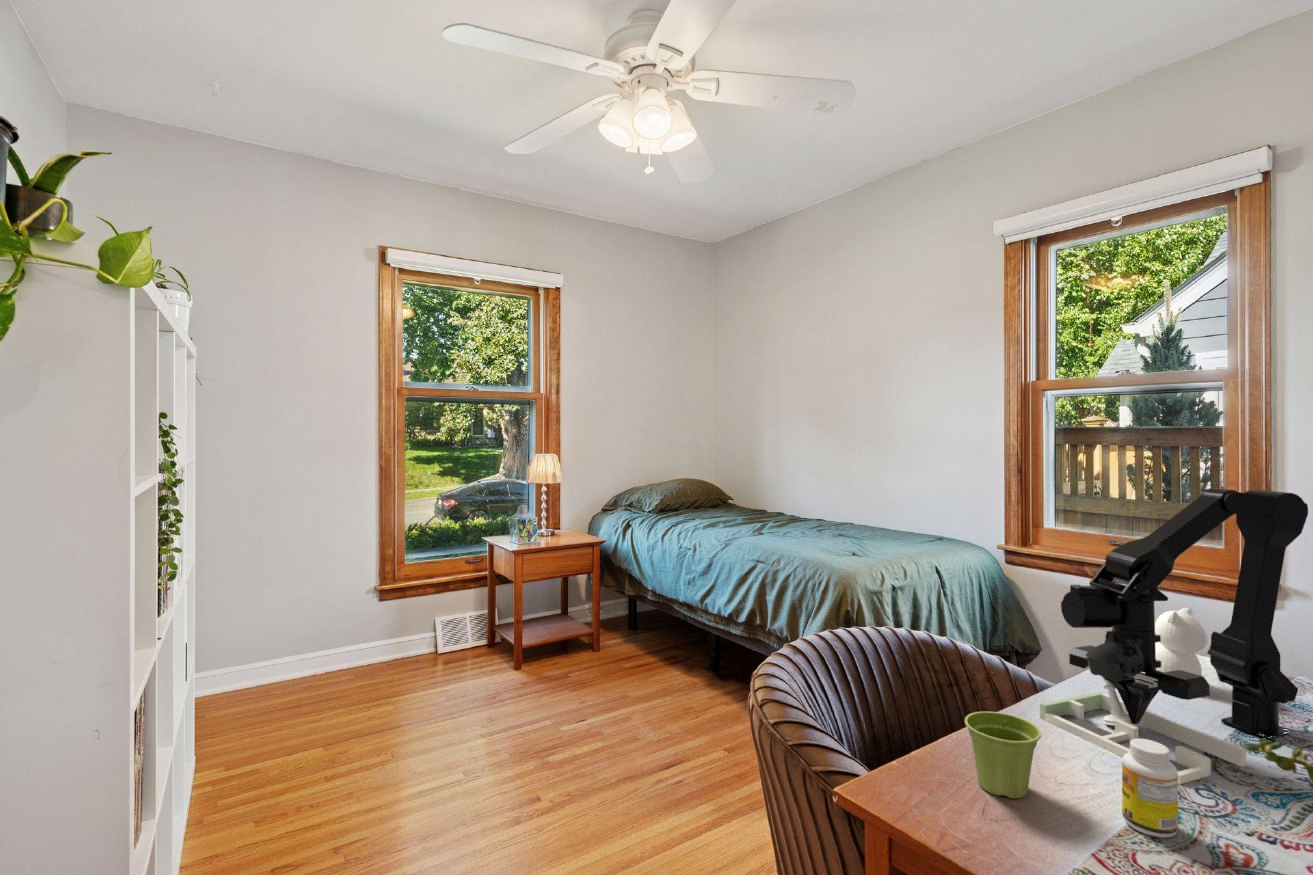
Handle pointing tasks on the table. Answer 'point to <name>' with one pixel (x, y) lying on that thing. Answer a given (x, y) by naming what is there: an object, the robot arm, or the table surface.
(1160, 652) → the cat figurine
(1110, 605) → the robot arm
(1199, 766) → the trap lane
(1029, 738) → the plant pot
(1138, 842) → the table surface
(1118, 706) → the chess piece
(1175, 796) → the supplement bottle
